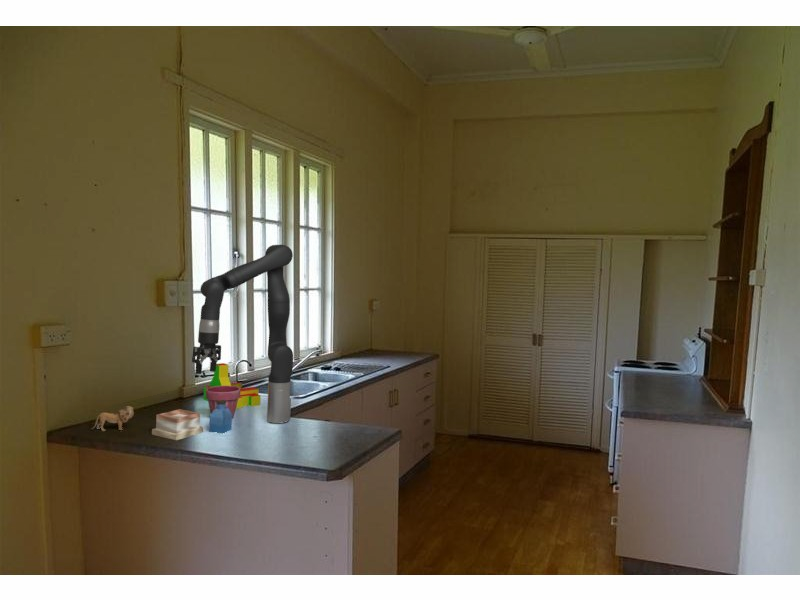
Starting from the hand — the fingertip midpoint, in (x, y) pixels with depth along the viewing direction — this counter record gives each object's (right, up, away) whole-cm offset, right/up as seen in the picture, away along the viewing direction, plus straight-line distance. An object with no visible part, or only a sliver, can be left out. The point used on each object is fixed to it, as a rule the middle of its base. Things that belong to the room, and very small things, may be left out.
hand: (205, 372), depth 212 cm
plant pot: (-1, -23, +22) cm, 31 cm away
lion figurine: (-35, -22, -1) cm, 41 cm away
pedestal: (-10, -23, -3) cm, 25 cm away
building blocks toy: (-5, -22, +52) cm, 56 cm away
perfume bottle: (+5, -24, +3) cm, 24 cm away
